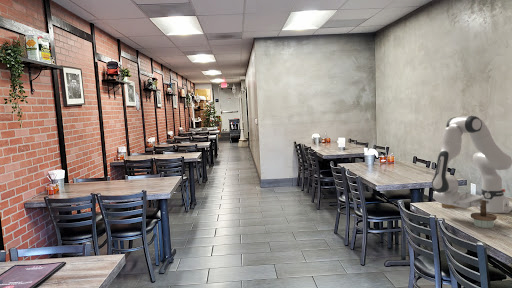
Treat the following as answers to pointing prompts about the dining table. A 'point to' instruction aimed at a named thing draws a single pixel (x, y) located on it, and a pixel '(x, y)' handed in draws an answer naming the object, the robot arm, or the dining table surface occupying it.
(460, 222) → the dining table surface
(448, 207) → the sandwich container
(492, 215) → the walnut lid
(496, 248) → the dining table surface
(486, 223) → the celadon bowl
